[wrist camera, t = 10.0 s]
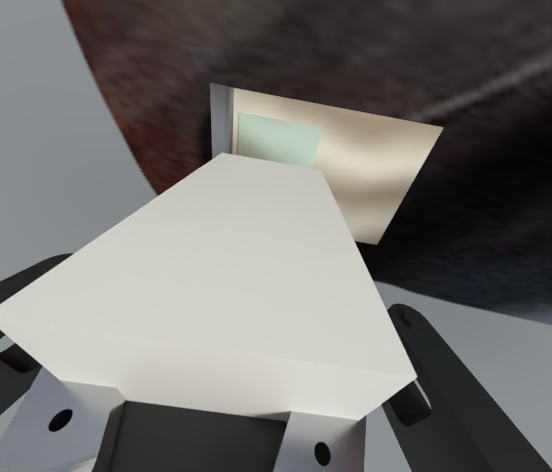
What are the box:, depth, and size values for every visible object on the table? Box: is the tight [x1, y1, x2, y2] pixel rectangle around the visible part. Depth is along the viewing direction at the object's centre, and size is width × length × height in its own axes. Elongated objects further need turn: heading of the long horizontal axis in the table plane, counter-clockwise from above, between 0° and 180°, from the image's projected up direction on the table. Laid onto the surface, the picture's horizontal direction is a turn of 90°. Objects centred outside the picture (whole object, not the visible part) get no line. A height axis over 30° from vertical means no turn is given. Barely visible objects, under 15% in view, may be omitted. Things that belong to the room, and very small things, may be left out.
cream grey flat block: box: [210, 83, 443, 245], centre depth 18 cm, size 12×18×4 cm, turn 81°
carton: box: [0, 153, 417, 421], centre depth 8 cm, size 5×7×9 cm
